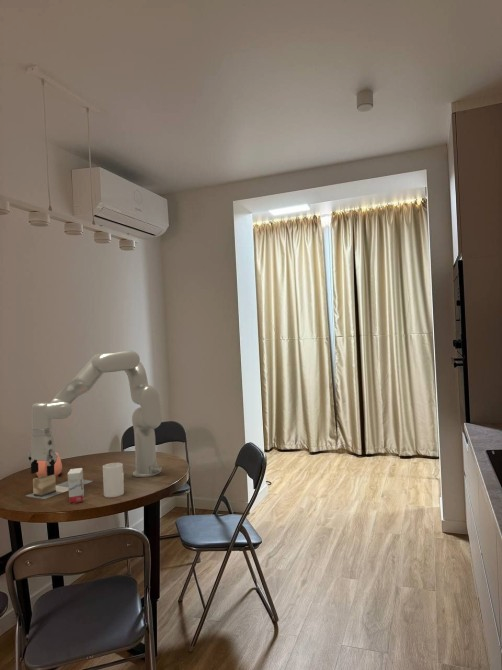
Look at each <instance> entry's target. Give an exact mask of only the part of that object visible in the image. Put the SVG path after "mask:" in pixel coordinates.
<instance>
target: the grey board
mask: <svg viewBox="0 0 502 670" xmlns="http://www.w3.org/2000/svg"><path fill="white" fill-rule="evenodd" d="M89 483H94V480H88V479H83V484H84V485H87V484H89ZM65 492H69V488H68V480H67V481H64V482H61V483H58V484H56V492H54V493H51V494H49V495H46V496H43V497H39V496H34V495H33V493H29V494H26V495H25V497H29V498H36V499H41V500H46V499H49V498H51V497H54V496H57V495H59V494H60V495H61V494H63V493H65Z"/></svg>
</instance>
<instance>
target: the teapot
mask: <svg viewBox="0 0 502 670" xmlns="http://www.w3.org/2000/svg"><path fill="white" fill-rule="evenodd" d="M55 453H56V454H57V455H58V457H57V459H56V460H57V461H56V462H55V465H54V474H53V475H55V478H59V475H60V474H61V473H62V470H63V464H62V460H61V457H60V455H59V453H58V452H55ZM37 462H38V472H37V473H35V474H36V476H37V477H40V476H43V475H46V474H47V466H48V465H47V463H46V461H39V460H38V461H37ZM49 462H50V460H49Z"/></svg>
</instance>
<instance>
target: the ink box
mask: <svg viewBox="0 0 502 670" xmlns="http://www.w3.org/2000/svg"><path fill="white" fill-rule="evenodd" d="M83 480H84V471H83V467H79V468H70V469H69V471H68V472H67V481H68V488H69V490H68V500H69V504H70V505H71V504H77V503H83V500H84V496H85V489H84V488H85V487H84V485H85V484H83Z"/></svg>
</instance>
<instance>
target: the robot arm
mask: <svg viewBox="0 0 502 670" xmlns="http://www.w3.org/2000/svg"><path fill="white" fill-rule="evenodd" d="M122 371H123V372H125V375H127V379H128V383H129V384H128V386H129V391H130V392H129V393H130V397H131V400H132V402H133V403H134V404H135V405H139V406H140V407H137V408H136V409H135V410H134V411H133V413H132V415H131V421H132V422H131V423H132V428H133V434H134V454H135V456H134V457H135V470H134V471H133V472H132V476H133V477H136V478H148V477H153V476H156V475H159V474H160V473H161V472H162V470H163V467H162V466H159V463H158V462H157V452H156V451H157V450H156V434H155V433H156V432H155V429H157V428H158V427H159V426H161V423H162V419H163V412H162V407H161V401H160V395H159V392H158V390H157V388H156V387H154V386H152V385H149V382H148V381H149V380H148V377H147V376H148V375H147V373H146V372H147V371H146V369H145V367H144V365H143V363H142V362H141V359H140V355H139V354H138V353H137V352H136V351H133V350H119V351H117V352H107V353H103V352H102V353H96V354H95V355H93V356H92V357H91V358H90V359H89V360H88V362H86V364H85V365H84V366H83V367H82V368H81V369H80V370H79V372H78V373H77V374H76V375H75V376H74V377H73V379H71V380H70V381H69V382H68V383H67V384H65V386H64V387H62V389H60V391H58V393H56V395H55V396H54V397H53V398H52V399H51V401H50V402H36V403H33V404H32V406H31V440H30V450H28V451H27V453H26V455H27V456H28V457H27V458H28V460H29V464H30V474H32V475H33V474H36V473H37V472H38V462H37V461H38V460H39V461H46V463H47V465H48V466H47V476H50V475H53V474H54V465H55V462H56V461H57V460H56V459H57V457H58V455H59V454H58V455H57V454H56V453H57V452H56V448H55V447H56V446H55V445H56V444H55V440H54V435H53V434H52V420H65V419H67V418H69V417H70V416H71V414H72V412H73V408H72V405H71V404H72V403H73V402H74V401H75V400H76V399H77V398H78V397H79V396H81V395H83V394H85V393H88V392H89V391H90V390H91V389H92V388H93V387H94V386H95V384H96V383H97V382H98V381H99V380H100V378H101V377H103V375H104V373H106V374H107V373H114V372H115V373H116V372H122ZM49 460H50V462H49Z"/></svg>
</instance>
